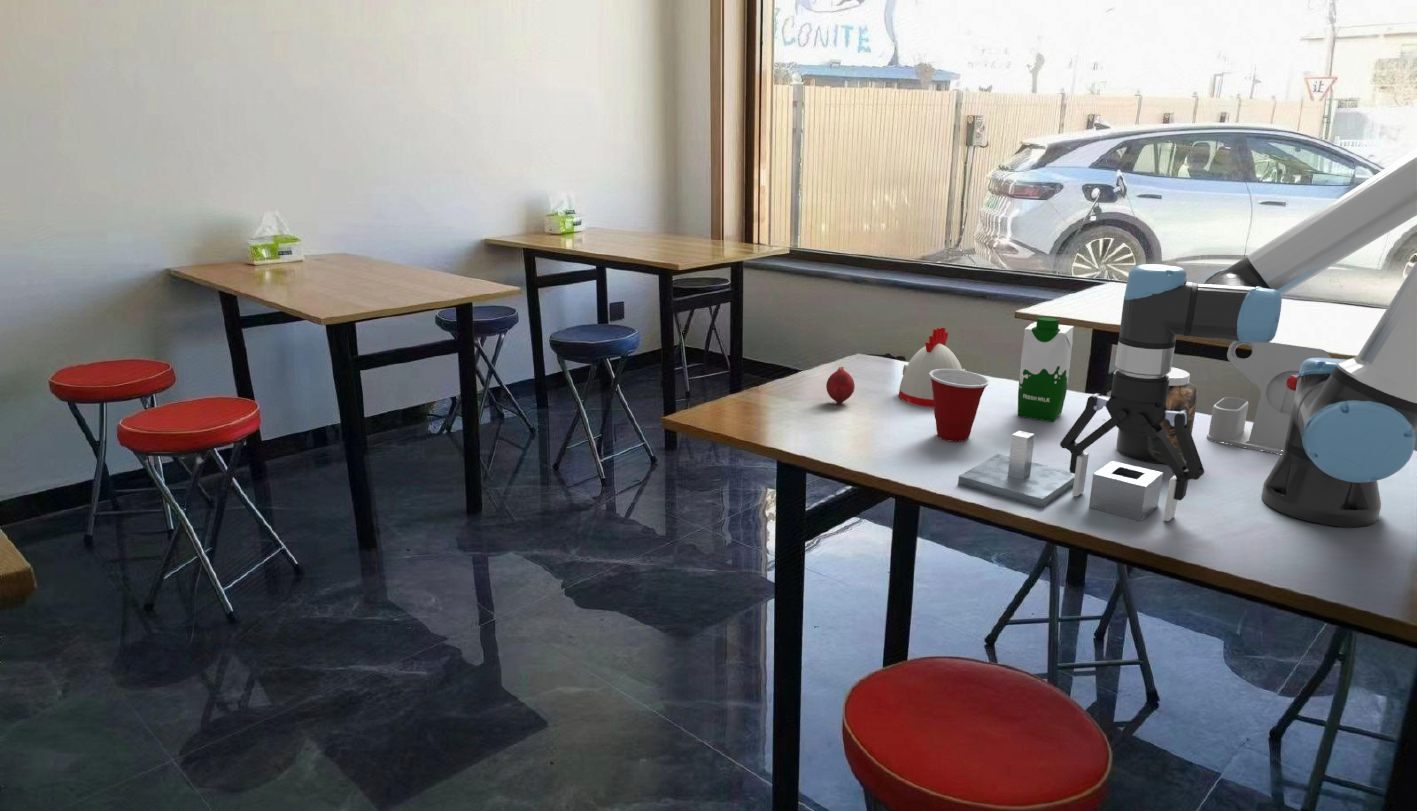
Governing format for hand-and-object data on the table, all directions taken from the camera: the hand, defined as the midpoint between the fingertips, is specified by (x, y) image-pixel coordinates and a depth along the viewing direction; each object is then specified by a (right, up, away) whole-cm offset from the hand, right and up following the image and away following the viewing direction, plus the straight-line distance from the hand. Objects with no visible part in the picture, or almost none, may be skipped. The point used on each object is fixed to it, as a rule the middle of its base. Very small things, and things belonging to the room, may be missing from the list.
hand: (1122, 505), depth 141 cm
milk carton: (+3, +13, +44) cm, 46 cm away
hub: (0, 0, 0) cm, 0 cm away
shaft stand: (-13, +3, +9) cm, 16 cm away
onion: (-36, +16, +51) cm, 65 cm away
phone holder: (+38, +8, +28) cm, 48 cm away
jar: (+16, +7, +23) cm, 29 cm away
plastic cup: (-17, +9, +31) cm, 37 cm away
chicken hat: (-16, +17, +56) cm, 60 cm away
